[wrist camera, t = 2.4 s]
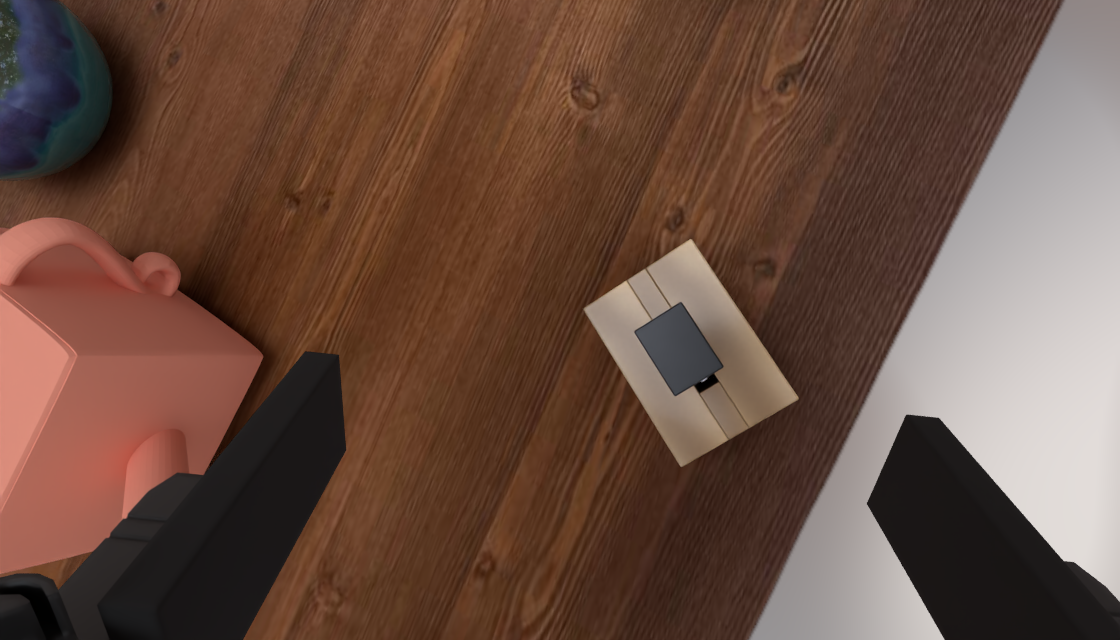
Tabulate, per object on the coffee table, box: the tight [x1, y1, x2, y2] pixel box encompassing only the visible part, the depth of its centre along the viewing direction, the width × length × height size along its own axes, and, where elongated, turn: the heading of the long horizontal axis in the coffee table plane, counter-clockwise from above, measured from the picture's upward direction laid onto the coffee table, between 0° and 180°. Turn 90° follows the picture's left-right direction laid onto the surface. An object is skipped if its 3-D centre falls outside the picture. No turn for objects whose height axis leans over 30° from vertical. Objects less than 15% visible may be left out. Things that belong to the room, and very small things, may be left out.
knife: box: [634, 302, 724, 396], centre depth 31 cm, size 2×4×16 cm, turn 32°
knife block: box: [583, 239, 799, 467], centre depth 35 cm, size 7×10×7 cm
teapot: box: [0, 217, 263, 574], centre depth 39 cm, size 25×23×18 cm
